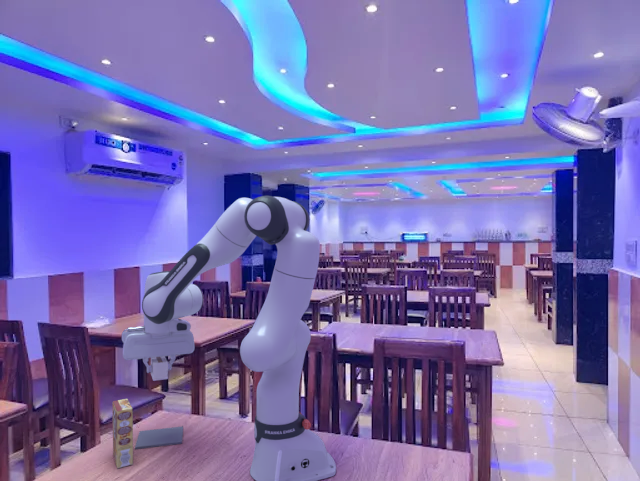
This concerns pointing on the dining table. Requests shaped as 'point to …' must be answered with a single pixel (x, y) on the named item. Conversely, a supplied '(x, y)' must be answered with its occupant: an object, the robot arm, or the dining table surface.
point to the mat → (159, 437)
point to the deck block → (159, 368)
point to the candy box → (122, 433)
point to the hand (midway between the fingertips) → (159, 371)
